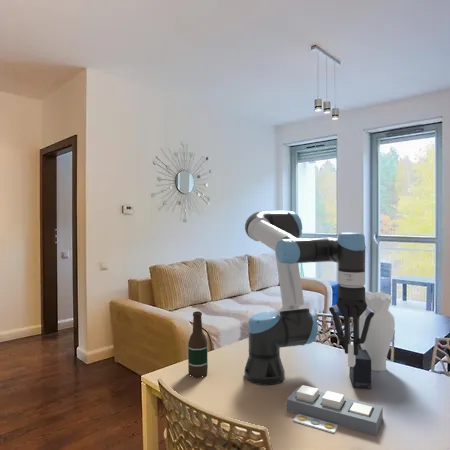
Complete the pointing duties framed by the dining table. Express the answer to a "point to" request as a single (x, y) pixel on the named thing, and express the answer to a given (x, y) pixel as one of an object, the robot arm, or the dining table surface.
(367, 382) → the small box
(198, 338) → the beer bottle
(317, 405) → the board
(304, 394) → the button
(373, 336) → the vase
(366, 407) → the button
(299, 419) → the card
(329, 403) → the button
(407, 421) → the dining table surface
